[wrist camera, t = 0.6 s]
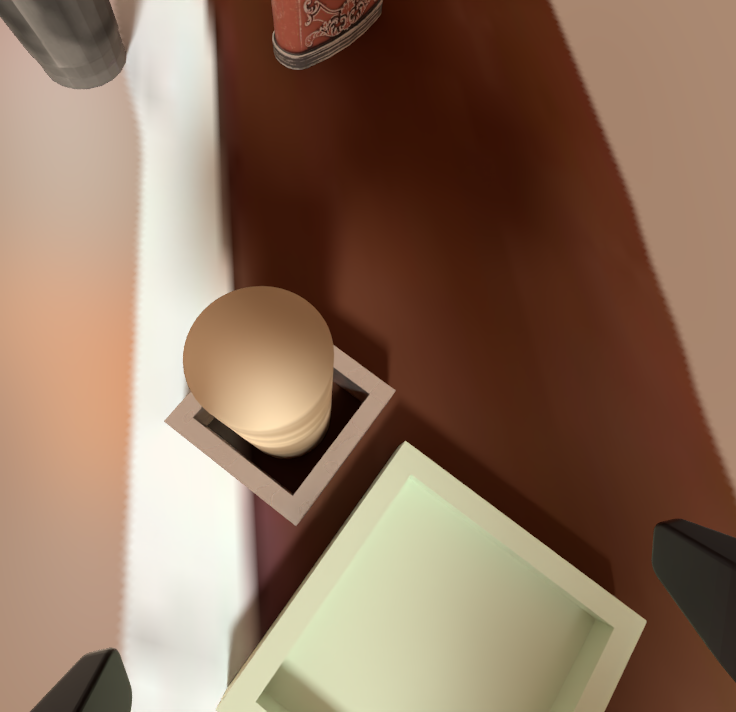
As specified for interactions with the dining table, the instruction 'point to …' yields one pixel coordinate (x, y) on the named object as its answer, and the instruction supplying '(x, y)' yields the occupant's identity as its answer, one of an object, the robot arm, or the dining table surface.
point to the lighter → (318, 28)
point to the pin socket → (374, 397)
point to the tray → (437, 614)
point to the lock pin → (264, 368)
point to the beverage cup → (69, 38)
